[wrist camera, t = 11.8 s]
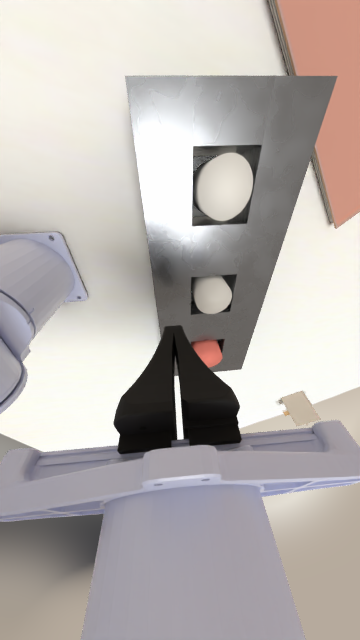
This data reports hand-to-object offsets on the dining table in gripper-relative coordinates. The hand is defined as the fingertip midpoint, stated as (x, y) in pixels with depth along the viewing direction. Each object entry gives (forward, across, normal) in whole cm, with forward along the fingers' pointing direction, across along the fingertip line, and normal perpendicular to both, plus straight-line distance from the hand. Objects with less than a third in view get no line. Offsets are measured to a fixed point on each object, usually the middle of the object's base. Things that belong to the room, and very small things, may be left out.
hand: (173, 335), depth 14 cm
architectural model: (+12, -31, +36) cm, 49 cm away
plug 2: (+10, -4, 0) cm, 11 cm away
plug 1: (+10, -4, -9) cm, 14 cm away
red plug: (+9, -4, +9) cm, 14 cm away
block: (+10, -4, 0) cm, 11 cm away
